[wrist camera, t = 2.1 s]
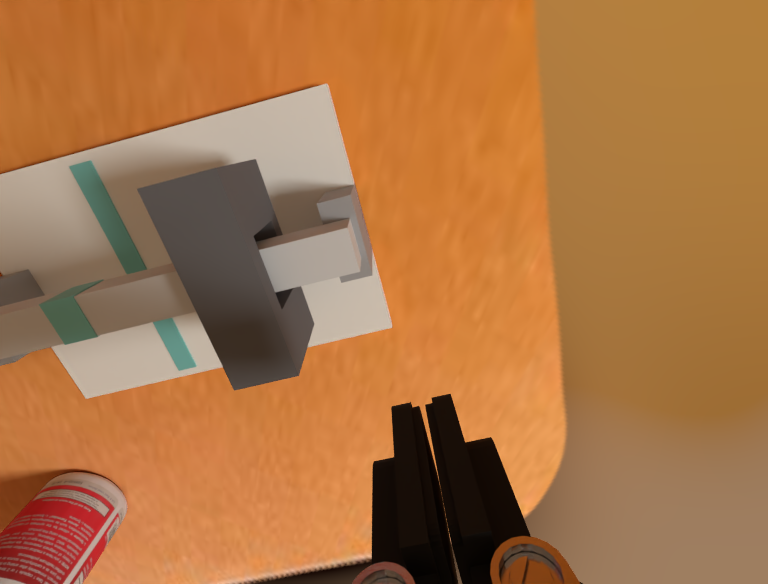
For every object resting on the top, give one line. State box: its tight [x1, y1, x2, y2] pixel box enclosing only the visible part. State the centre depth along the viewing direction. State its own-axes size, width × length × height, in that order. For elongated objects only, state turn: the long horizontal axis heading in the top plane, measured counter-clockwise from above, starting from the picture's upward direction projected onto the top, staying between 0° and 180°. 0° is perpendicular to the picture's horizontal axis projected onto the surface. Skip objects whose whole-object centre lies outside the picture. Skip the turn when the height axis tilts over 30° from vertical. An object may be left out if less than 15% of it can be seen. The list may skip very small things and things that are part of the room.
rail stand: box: [0, 84, 392, 399], centre depth 20 cm, size 14×21×6 cm, turn 104°
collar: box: [137, 159, 314, 390], centre depth 18 cm, size 9×3×5 cm, turn 14°
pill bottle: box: [0, 472, 127, 584], centre depth 25 cm, size 6×6×11 cm
